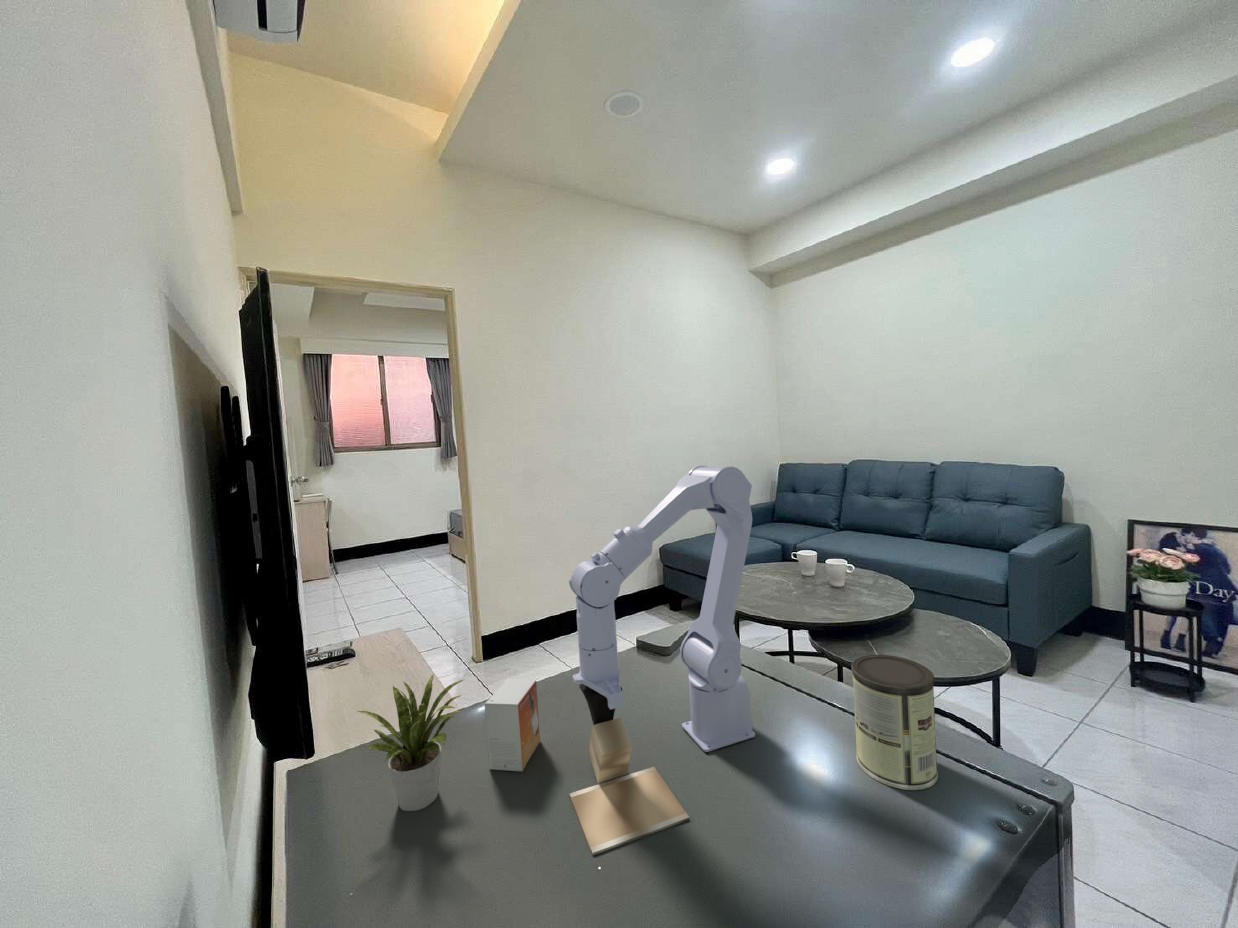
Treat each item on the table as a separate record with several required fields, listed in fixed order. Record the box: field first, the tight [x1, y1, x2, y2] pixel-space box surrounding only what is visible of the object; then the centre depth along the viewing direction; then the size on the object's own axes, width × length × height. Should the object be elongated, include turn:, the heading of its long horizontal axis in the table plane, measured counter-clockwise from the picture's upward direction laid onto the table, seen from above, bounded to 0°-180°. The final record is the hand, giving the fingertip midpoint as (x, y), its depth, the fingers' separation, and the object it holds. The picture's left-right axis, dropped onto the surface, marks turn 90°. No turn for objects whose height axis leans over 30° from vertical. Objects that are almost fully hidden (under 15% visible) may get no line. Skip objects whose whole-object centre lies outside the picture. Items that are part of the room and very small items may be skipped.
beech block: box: [588, 717, 633, 785], centre depth 71 cm, size 4×4×7 cm
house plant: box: [356, 674, 466, 812], centre depth 69 cm, size 14×14×16 cm
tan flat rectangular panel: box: [569, 766, 690, 856], centre depth 65 cm, size 13×11×1 cm
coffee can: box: [850, 654, 939, 791], centre depth 69 cm, size 10×10×14 cm
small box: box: [484, 678, 541, 772], centre depth 77 cm, size 8×6×10 cm
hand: (603, 731), depth 73 cm, fingers closed
